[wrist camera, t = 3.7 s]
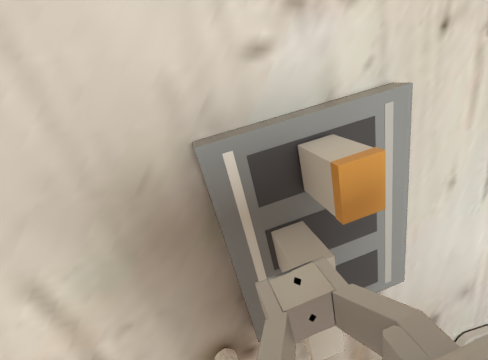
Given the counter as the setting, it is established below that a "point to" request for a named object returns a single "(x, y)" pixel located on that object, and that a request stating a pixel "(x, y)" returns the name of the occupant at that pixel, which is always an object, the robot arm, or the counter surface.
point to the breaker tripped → (344, 176)
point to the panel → (310, 199)
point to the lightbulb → (226, 355)
